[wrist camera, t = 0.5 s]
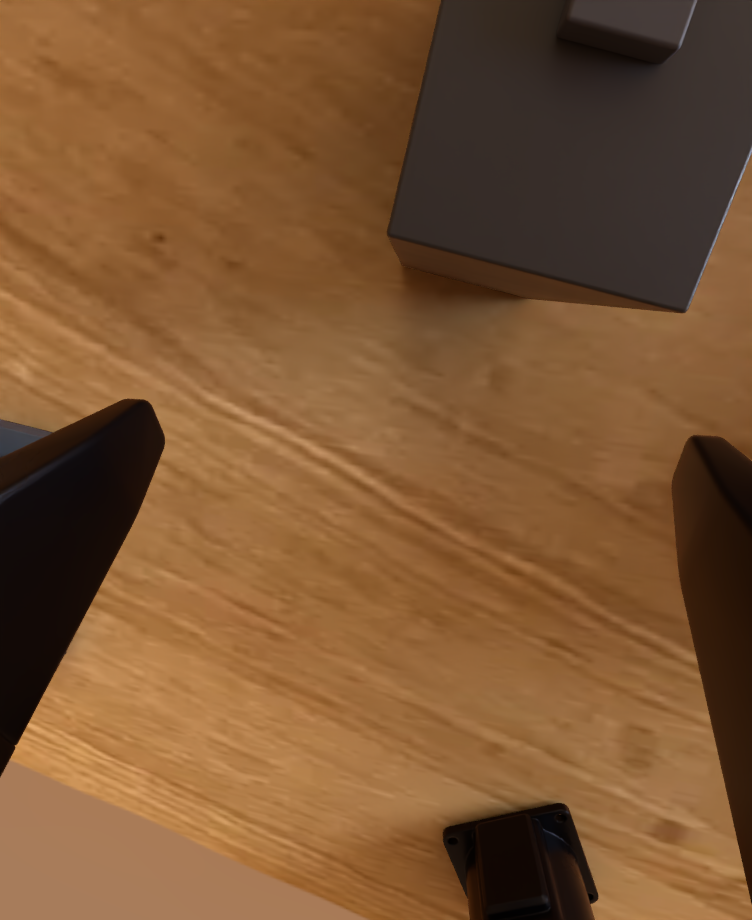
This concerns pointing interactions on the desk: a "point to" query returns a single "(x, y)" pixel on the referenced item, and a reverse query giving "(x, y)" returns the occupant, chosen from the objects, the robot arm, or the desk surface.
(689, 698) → the desk surface
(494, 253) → the battery pack
